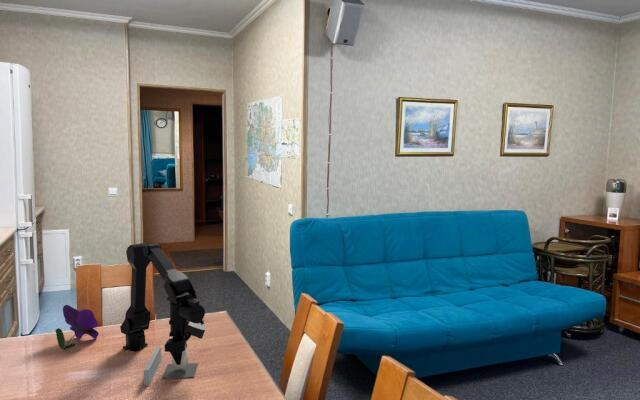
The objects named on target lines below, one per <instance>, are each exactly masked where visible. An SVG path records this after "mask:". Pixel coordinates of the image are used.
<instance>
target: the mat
mask: <svg viewBox="0 0 640 400" xmlns="http://www.w3.org/2000/svg"><path fill="white" fill-rule="evenodd" d="M198 366H199V363H198V362H188V366H187V367H186V368H183V369H175V368H173V367H172V363H168V364H167V365H166V368H165V370H164V371H163V373H162V377H161V380H166V379H167V380H168V379H169V380H172V379H193V378H195V375H196V371H197V368H198Z"/></svg>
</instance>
